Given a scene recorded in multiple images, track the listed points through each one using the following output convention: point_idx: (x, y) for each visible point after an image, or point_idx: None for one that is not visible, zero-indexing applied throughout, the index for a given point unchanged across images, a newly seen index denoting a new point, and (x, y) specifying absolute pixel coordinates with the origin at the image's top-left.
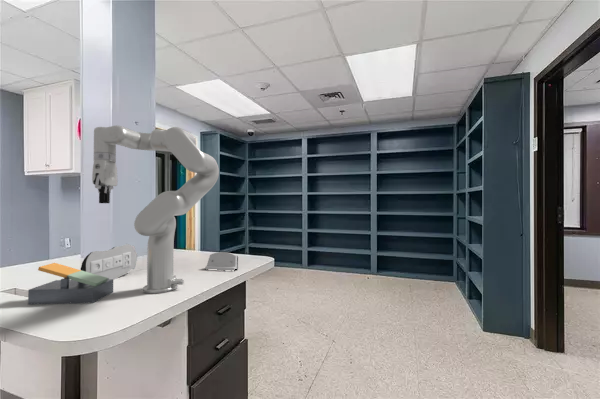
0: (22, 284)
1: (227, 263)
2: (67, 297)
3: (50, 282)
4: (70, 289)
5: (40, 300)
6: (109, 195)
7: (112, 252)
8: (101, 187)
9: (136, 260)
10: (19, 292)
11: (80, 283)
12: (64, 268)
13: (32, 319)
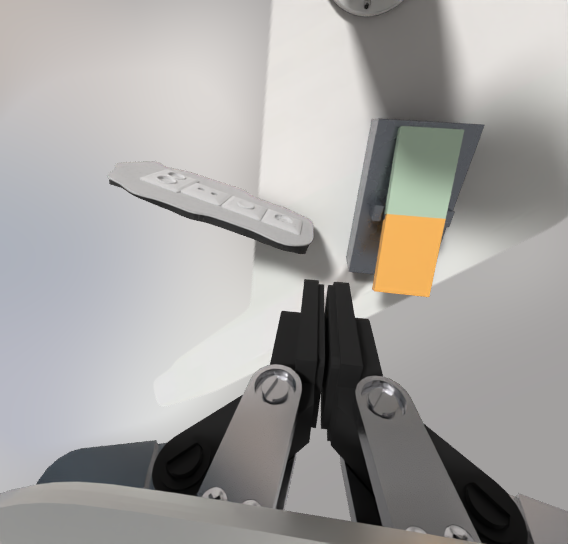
0: (266, 346)
1: None
2: None
3: (369, 271)
4: (459, 189)
5: None
6: (305, 336)
7: (215, 211)
8: (523, 529)
9: (132, 162)
10: None
11: None
12: (401, 251)
13: (537, 199)
